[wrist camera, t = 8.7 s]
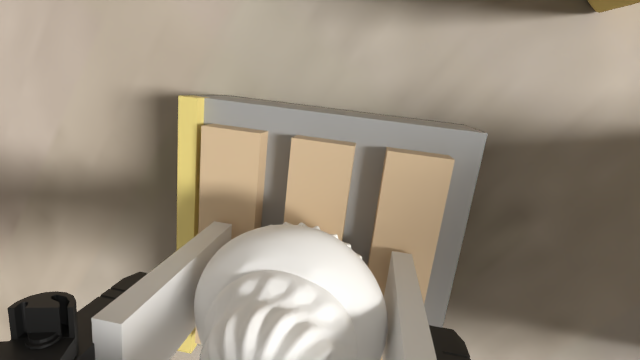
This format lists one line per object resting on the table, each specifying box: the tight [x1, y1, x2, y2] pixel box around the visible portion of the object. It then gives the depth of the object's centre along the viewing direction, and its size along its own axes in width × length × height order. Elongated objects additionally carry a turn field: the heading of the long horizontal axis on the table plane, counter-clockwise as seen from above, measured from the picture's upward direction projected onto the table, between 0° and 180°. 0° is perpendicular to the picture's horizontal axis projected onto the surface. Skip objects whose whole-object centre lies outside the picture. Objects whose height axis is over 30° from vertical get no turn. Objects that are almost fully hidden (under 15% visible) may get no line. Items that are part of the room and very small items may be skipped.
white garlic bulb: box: [194, 222, 388, 360], centre depth 11 cm, size 6×6×7 cm
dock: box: [176, 95, 488, 360], centre depth 17 cm, size 12×12×5 cm
